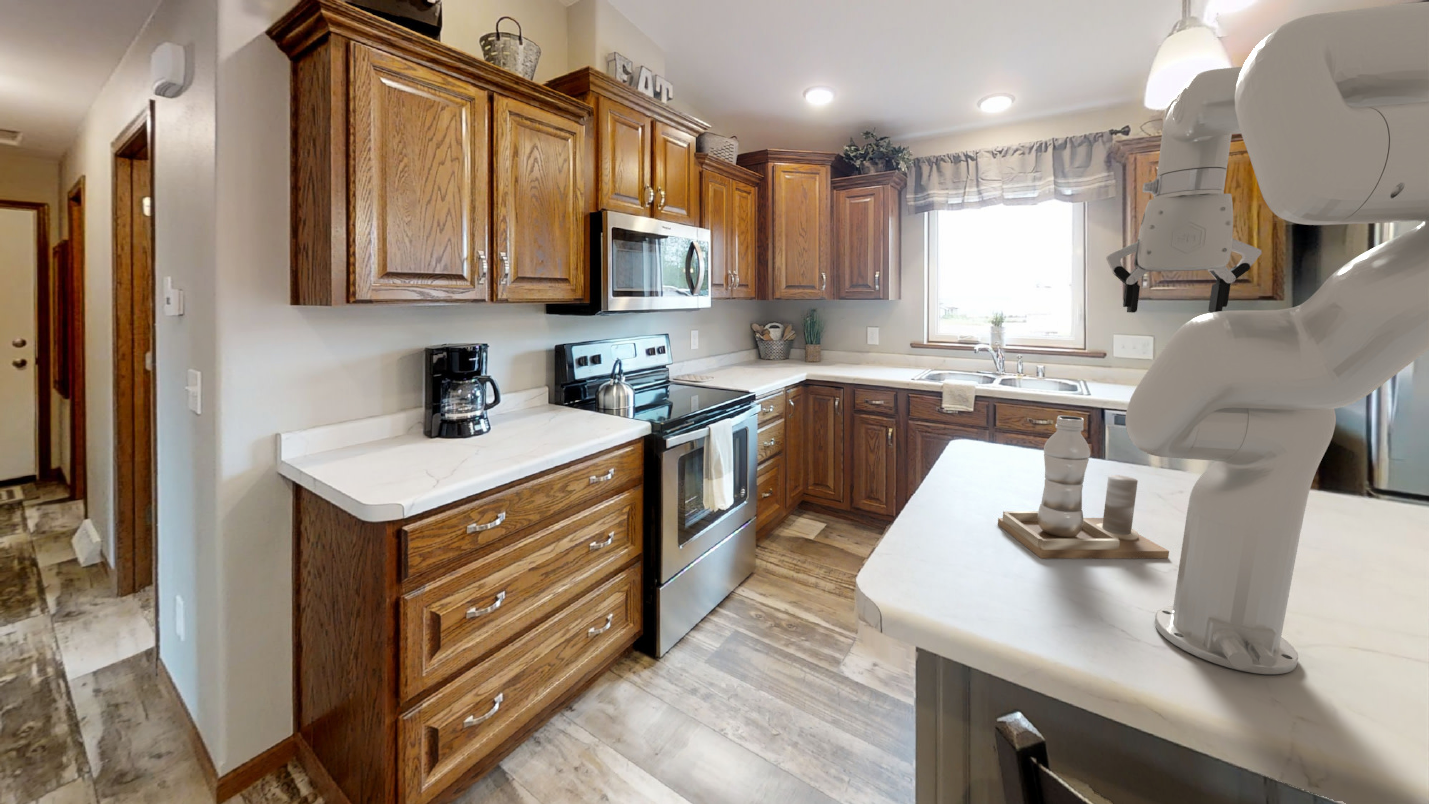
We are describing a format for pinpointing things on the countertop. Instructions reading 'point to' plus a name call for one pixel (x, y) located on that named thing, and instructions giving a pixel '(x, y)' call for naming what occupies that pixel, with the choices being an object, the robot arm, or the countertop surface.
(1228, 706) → the countertop surface
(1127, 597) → the countertop surface
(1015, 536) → the board
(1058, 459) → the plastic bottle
